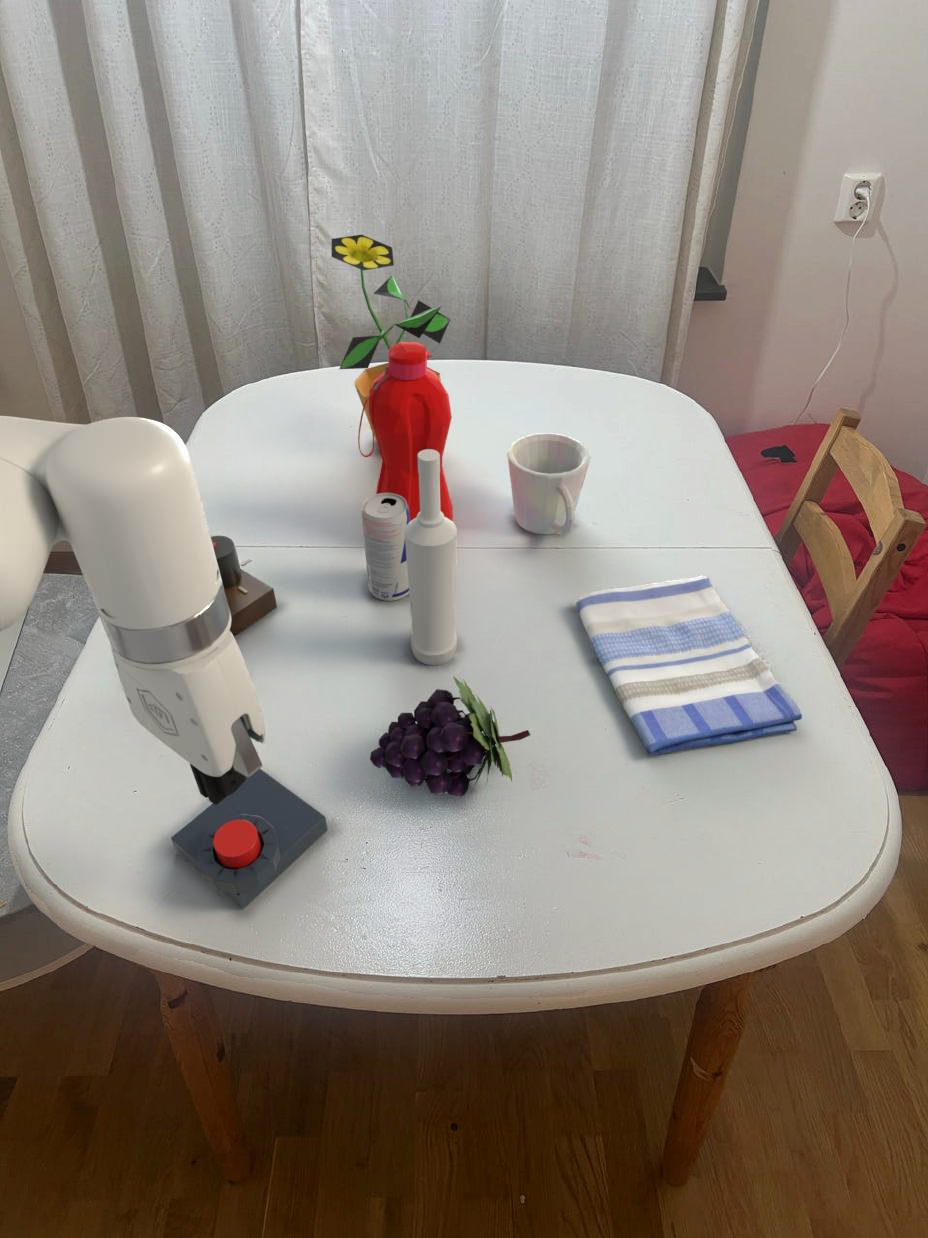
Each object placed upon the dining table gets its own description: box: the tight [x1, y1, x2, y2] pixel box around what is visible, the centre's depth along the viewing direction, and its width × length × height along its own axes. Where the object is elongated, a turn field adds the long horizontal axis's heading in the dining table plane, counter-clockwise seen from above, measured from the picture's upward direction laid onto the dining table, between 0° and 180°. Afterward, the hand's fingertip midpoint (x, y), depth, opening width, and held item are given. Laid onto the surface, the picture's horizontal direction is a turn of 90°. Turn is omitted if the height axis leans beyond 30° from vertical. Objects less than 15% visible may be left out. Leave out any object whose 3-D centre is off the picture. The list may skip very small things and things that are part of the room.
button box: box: [170, 767, 328, 910], centre depth 75 cm, size 11×10×4 cm
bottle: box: [405, 449, 458, 666], centre depth 86 cm, size 5×5×25 cm
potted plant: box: [331, 234, 451, 446], centre depth 117 cm, size 18×19×30 cm
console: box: [224, 558, 278, 638], centre depth 98 cm, size 14×10×3 cm
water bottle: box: [357, 341, 454, 522], centre depth 103 cm, size 9×11×25 cm
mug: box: [506, 432, 591, 536], centre depth 109 cm, size 10×15×10 cm
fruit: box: [369, 675, 531, 798], centre depth 79 cm, size 10×11×15 cm
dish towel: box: [575, 574, 803, 755], centre depth 92 cm, size 17×24×3 cm
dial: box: [210, 535, 242, 589], centre depth 98 cm, size 4×4×5 cm
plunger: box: [213, 820, 261, 868], centre depth 71 cm, size 4×4×2 cm
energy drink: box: [361, 493, 410, 602], centre depth 99 cm, size 5×5×12 cm
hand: (224, 787), depth 66 cm, fingers closed
